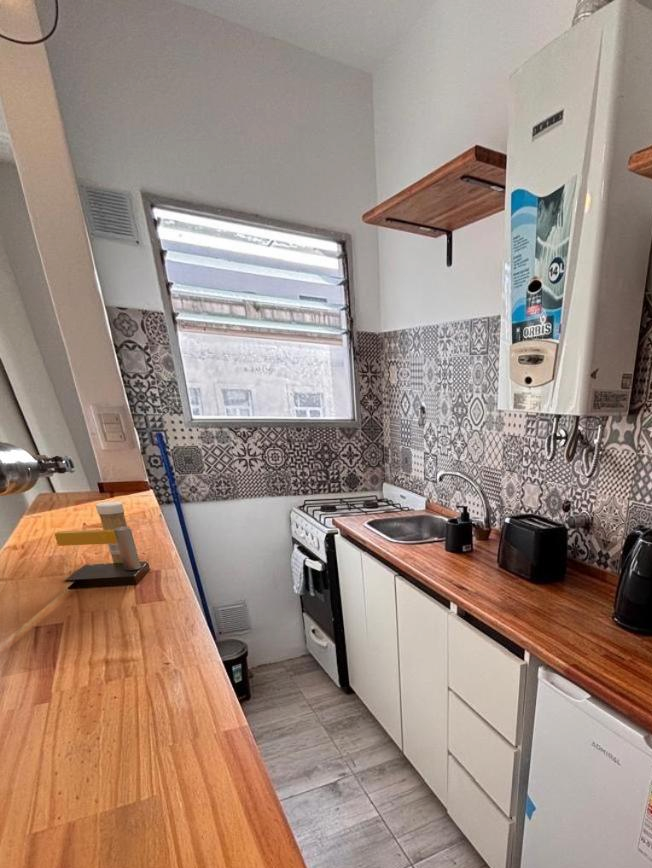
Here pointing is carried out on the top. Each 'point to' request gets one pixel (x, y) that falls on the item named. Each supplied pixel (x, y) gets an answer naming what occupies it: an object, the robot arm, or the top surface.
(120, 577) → the stove plate
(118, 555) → the sprinkles bottle
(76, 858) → the top surface
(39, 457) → the robot arm
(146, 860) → the top surface
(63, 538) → the gas tap
